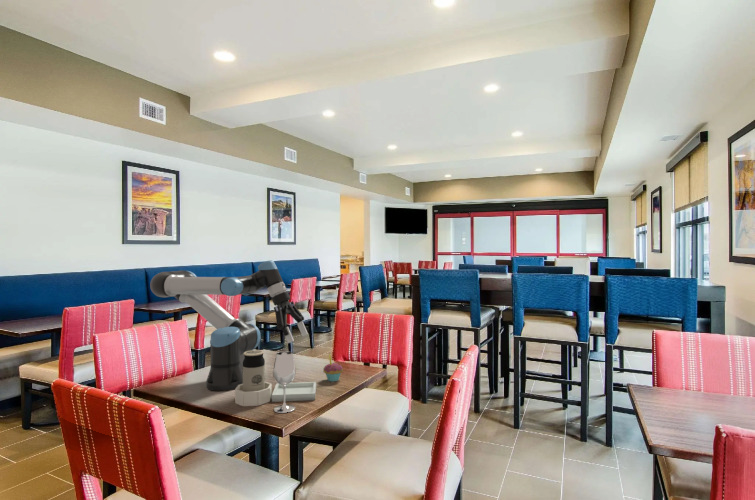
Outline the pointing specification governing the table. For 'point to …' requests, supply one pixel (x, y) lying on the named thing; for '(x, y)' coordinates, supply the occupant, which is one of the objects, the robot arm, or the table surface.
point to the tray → (295, 392)
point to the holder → (253, 396)
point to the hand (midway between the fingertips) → (298, 338)
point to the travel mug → (253, 371)
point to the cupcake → (333, 370)
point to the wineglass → (284, 376)
